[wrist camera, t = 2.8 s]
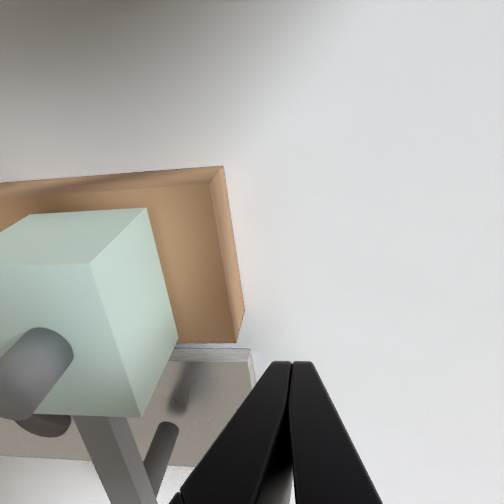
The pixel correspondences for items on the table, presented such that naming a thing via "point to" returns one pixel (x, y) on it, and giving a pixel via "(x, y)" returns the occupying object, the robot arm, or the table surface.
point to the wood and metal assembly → (161, 236)
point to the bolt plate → (153, 410)
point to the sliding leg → (88, 336)
